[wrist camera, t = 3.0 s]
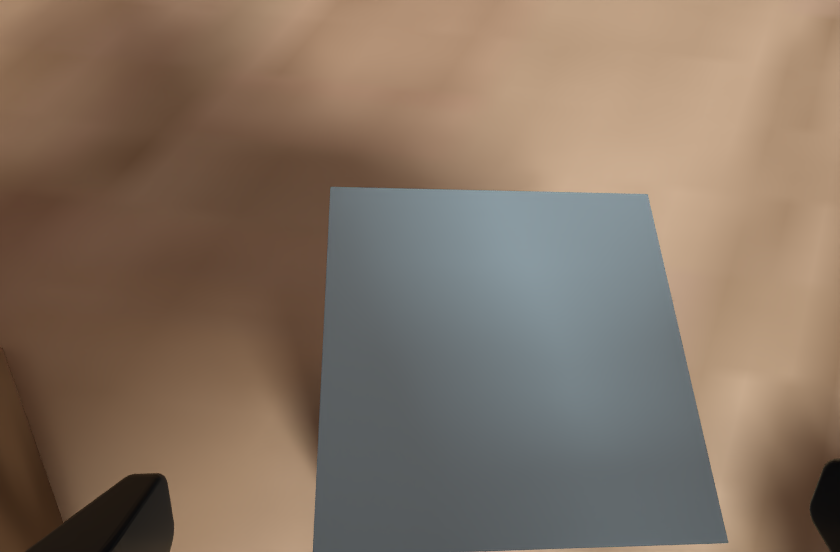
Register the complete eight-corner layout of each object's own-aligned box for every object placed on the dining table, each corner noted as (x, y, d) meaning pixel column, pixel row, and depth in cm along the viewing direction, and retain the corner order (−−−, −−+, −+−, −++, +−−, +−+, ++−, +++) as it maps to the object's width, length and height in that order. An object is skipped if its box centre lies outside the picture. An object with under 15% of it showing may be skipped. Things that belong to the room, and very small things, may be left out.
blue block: (522, 532, 16) (728, 542, 7) (347, 537, 15) (312, 556, 6) (506, 362, 18) (647, 194, 9) (351, 363, 17) (330, 186, 8)
